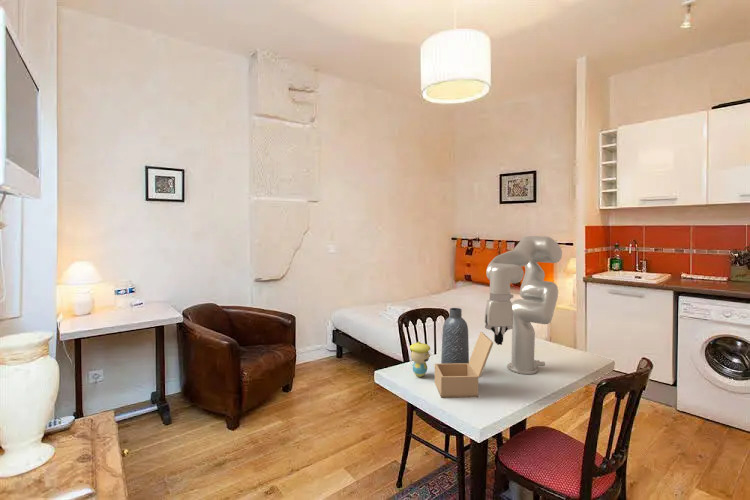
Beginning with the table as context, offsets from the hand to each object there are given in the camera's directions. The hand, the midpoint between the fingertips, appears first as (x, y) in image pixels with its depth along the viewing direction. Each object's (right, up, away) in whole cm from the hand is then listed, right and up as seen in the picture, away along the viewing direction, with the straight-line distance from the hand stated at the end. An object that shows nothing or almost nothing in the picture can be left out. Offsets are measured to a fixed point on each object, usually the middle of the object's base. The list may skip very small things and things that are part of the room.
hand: (498, 343), depth 154 cm
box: (-17, -18, +1) cm, 25 cm away
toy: (-29, -18, +15) cm, 37 cm away
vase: (-13, -17, +19) cm, 29 cm away
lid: (-8, -4, 0) cm, 8 cm away
